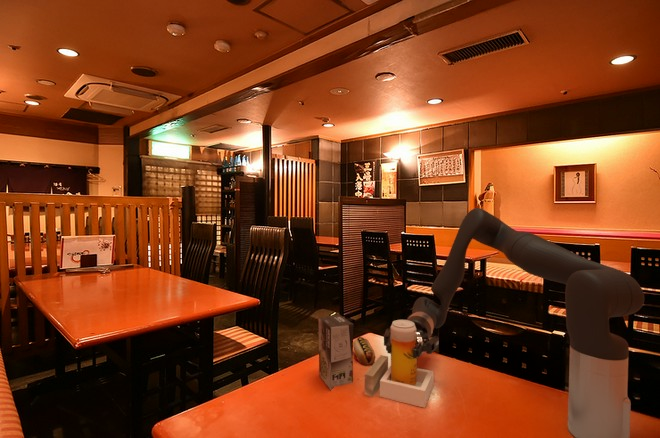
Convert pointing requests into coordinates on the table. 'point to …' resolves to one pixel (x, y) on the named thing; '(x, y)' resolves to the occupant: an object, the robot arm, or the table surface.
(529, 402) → the table surface
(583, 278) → the robot arm
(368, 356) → the hot dog
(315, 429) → the table surface
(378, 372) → the backstop board
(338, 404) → the table surface
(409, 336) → the beer can
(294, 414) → the table surface
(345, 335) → the coffee box
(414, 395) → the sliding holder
